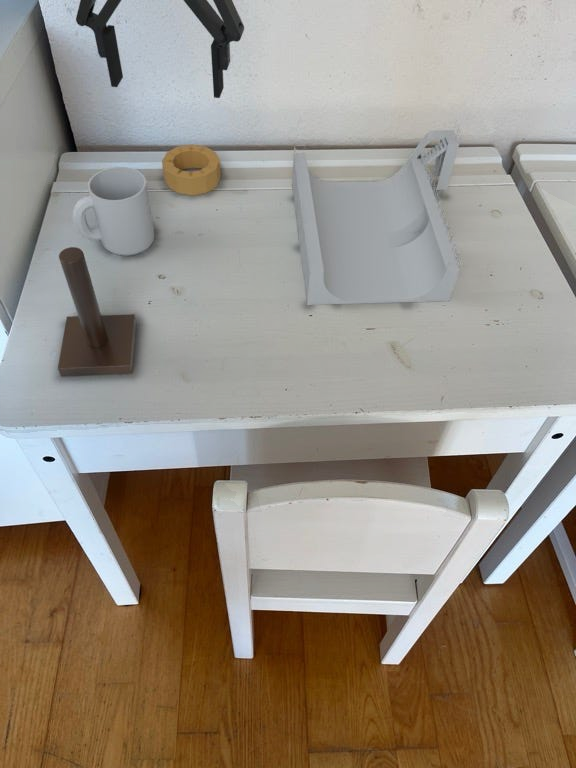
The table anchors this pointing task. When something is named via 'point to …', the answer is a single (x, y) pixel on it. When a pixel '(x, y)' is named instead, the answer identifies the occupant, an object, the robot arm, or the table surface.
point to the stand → (92, 328)
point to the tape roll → (192, 180)
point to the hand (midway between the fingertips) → (167, 87)
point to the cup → (117, 211)
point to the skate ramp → (378, 232)
